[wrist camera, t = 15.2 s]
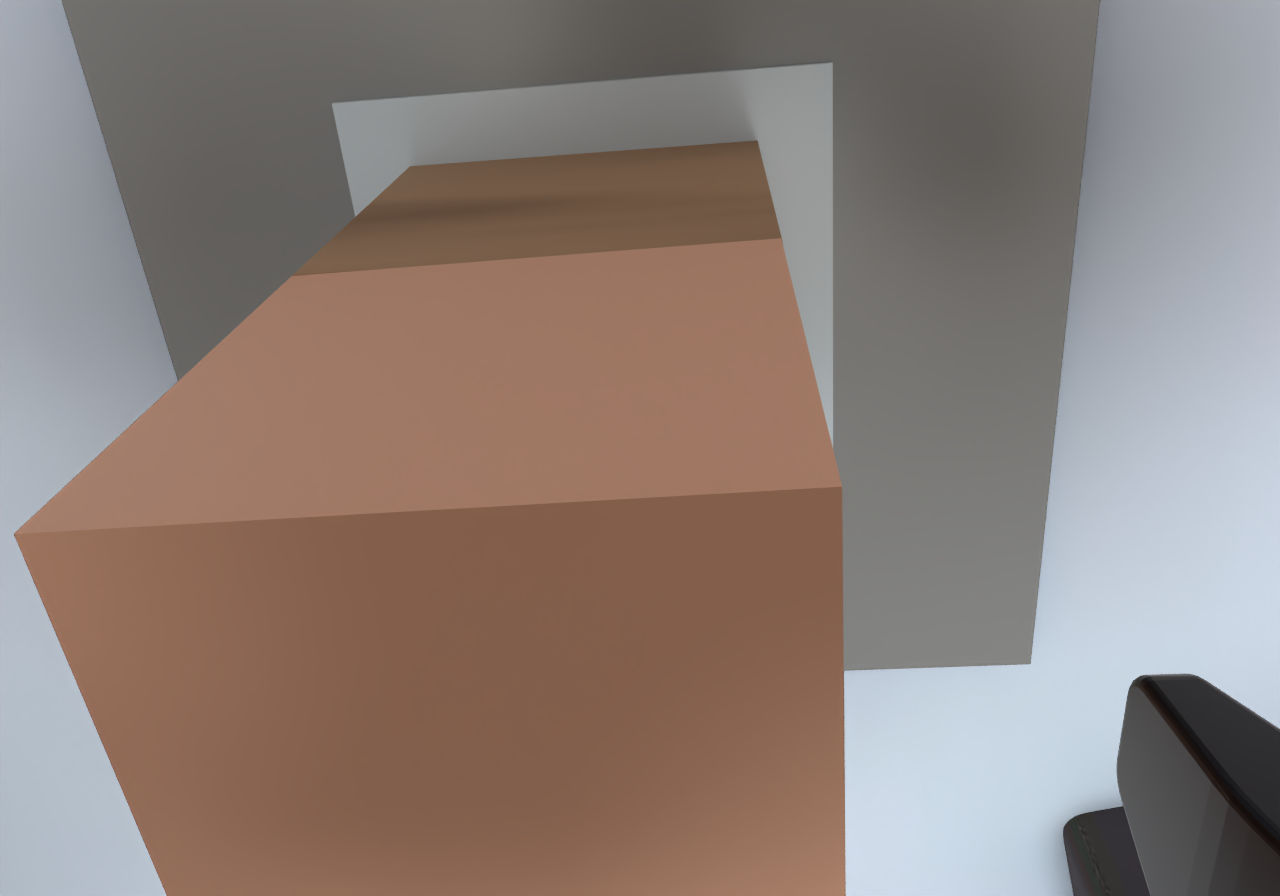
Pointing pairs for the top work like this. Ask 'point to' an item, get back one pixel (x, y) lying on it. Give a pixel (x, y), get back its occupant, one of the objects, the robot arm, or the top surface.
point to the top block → (475, 588)
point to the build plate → (668, 117)
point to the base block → (558, 208)
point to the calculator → (1103, 855)
